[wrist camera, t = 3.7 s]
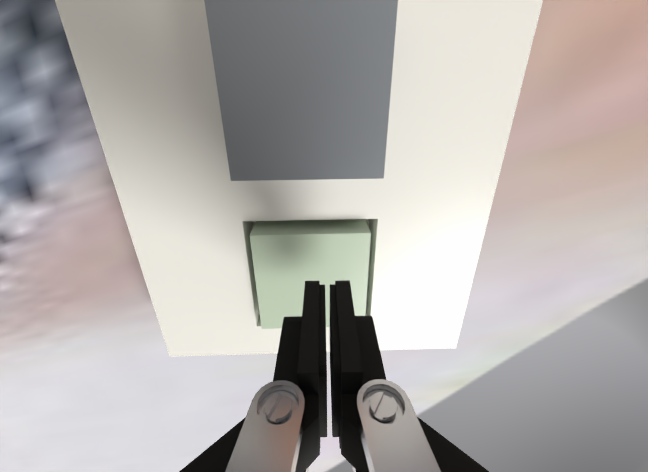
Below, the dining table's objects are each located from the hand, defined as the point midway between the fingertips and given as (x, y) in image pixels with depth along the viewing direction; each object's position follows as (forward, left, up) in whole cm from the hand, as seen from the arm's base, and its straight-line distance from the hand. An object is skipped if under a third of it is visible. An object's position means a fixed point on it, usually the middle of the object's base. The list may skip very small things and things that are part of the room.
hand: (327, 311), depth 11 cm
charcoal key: (+1, -7, -3) cm, 8 cm away
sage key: (+1, +1, -5) cm, 5 cm away
